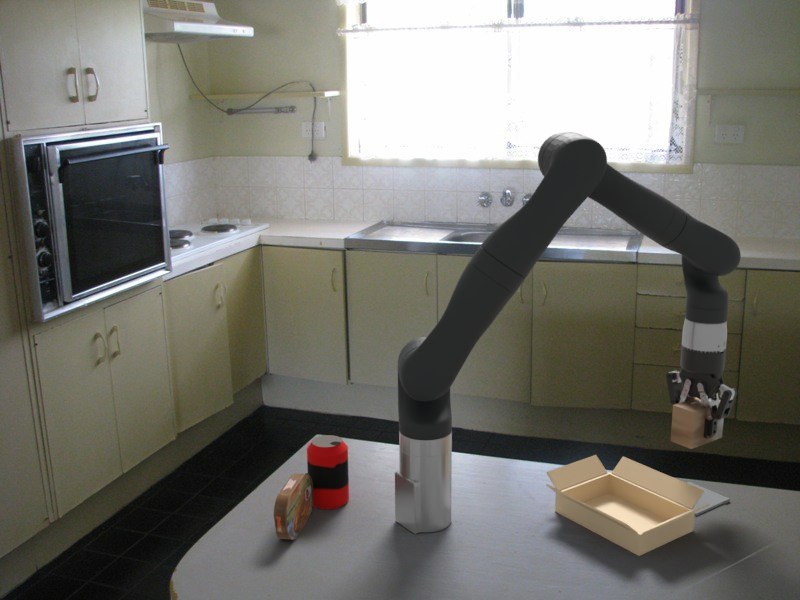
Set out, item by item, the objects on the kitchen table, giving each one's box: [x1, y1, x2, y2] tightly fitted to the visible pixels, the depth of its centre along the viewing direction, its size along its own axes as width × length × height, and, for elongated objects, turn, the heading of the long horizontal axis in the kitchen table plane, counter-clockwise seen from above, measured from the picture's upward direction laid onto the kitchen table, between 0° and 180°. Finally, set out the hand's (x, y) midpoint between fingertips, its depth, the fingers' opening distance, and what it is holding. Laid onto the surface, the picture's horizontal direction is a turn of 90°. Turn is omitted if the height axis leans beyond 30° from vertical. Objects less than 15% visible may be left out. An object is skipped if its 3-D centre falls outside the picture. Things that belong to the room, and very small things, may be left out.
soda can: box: [306, 434, 350, 510], centre depth 162 cm, size 8×8×12 cm
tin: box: [273, 472, 314, 541], centre depth 153 cm, size 15×3×8 cm, turn 169°
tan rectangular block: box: [670, 397, 725, 450], centre depth 158 cm, size 9×4×7 cm, turn 125°
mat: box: [686, 481, 731, 517], centre depth 162 cm, size 10×9×1 cm
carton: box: [545, 454, 709, 557], centre depth 153 cm, size 20×26×7 cm
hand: (696, 432), depth 159 cm, fingers closed on tan rectangular block, 4 cm apart
